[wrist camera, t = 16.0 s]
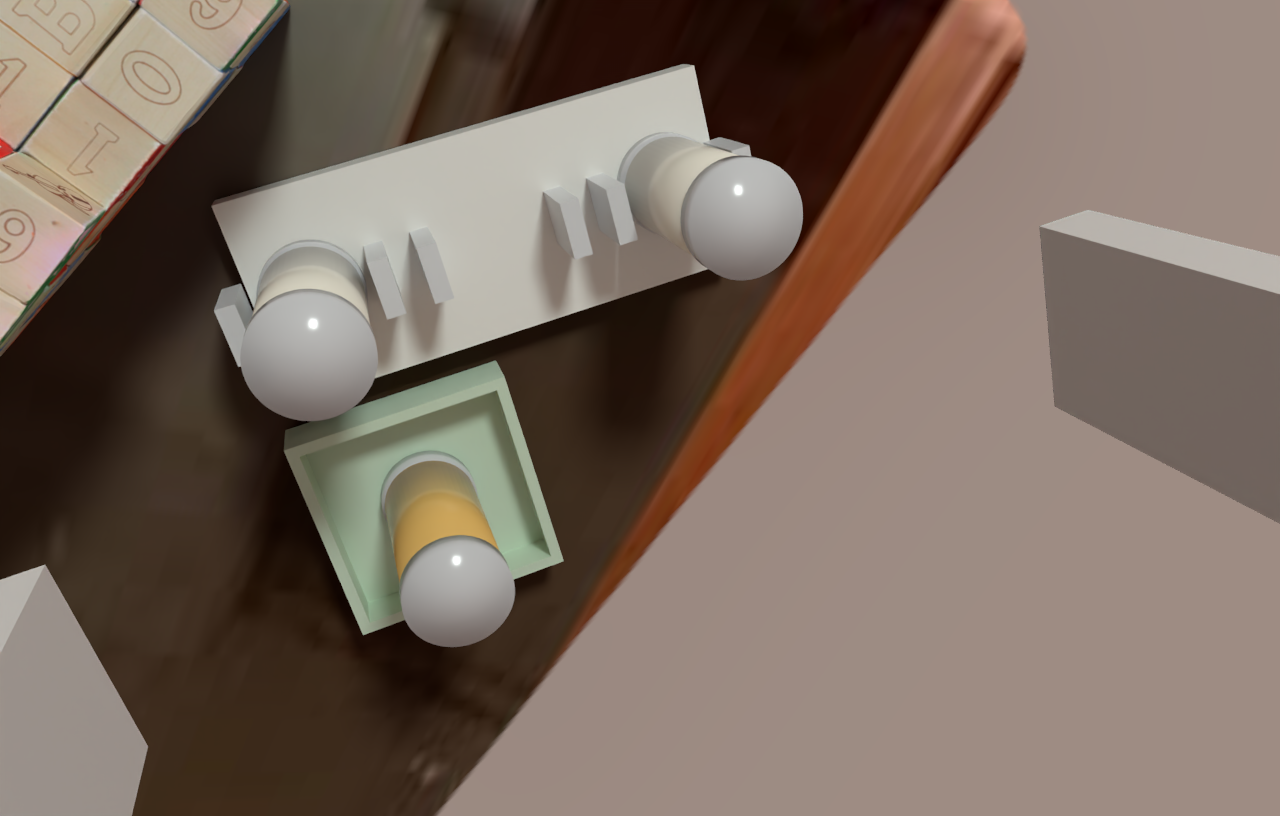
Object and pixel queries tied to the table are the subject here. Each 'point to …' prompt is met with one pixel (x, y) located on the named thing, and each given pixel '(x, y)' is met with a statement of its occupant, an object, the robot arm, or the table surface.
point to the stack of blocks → (98, 119)
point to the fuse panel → (480, 221)
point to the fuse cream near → (310, 333)
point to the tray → (393, 429)
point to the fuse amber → (444, 551)
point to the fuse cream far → (713, 203)
